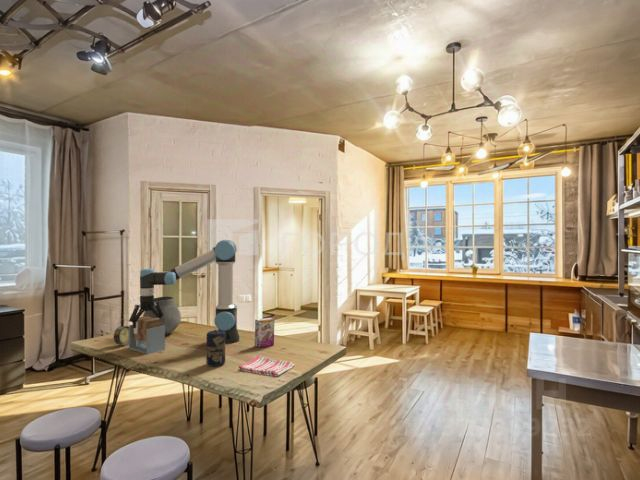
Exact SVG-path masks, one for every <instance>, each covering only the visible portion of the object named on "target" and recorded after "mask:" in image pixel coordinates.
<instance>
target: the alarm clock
mask: <svg viewBox="0 0 640 480" xmlns="http://www.w3.org/2000/svg"><path fill="white" fill-rule="evenodd" d="M122 321H125V319H123V318H122V319H121V320H120V325H121V326H118V327H117V328H116V329H115V330H114V332H113V340H114V343H115V344H117V345H118V348H120V346H121V345H124V346H125V345H129V325H124V324H125V322H123V323H122Z"/></svg>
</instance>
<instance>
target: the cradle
mask: <svg viewBox="0 0 640 480" xmlns="http://www.w3.org/2000/svg"><path fill="white" fill-rule="evenodd" d="M128 327H129V344H128V350H131V351H134V352H139V353H142V354H144V355H150V354H154V353H158V352H161V351H165V350H166V344H165V343H166V334H165V326H159V327H155V328H150V329H146V342H144V341H140V340H136V339H133V324H129V325H128Z"/></svg>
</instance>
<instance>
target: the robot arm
mask: <svg viewBox="0 0 640 480" xmlns="http://www.w3.org/2000/svg"><path fill="white" fill-rule="evenodd" d="M236 253H237V245H236V244H235V242H233V240H229V239H222V240H219V241H218V242H217V243H216V245H215V246H214V247H212V249H211V250H209V251H207V252H205V253H203V254H201V255H198V256H196V257H195V258H192V259H190V260H188V261H186V262H184V263H181V264H180V265H177V266H176V267H174V268H171V269H170V270H166V271H163V272H157V271H156V272H155V269H154V268H142V269H141V270H140V272H139V273H140V274H139V295H140V296H139V304H134V309H133V311H132V313H131V314H130V315H131V316H130V317H129V319H128V321H129V322H131V323H132V325H133V328H134V333H135V334H138V322H137V320H138V319H139V317H142V314H144V312H145V311H150V310H151V311H152V312H153V313H154V315H155V316H156V317H157V318H158V319H160V318H161V317H162V316H163V313H162V311H161V309H160V307H159V302H153V301H154V298H155V295H154V294H155V286H161V285H162V286H172V285H173V286H174V285H175V284H176V281H177V280H180V279H182V278H183V277H186V276H188V275H189V274H192V273H194V272H196V271H198V270H201V269H203V268H205V267H206V266H209V265H212V264H213V263H216V264H217V268H218V269H217V270H218V271H217V274H218V275H217V279H218V282H217V283H218V285H217V286H218V287H217V291H218V292H217V305H216V306H215V317H214V321H213V322H214V324H215V325H214V326H215V327H216V328H217V330H221V331H224V332H225V335H226V336H225V344H233V343H236V342H237V343H238V341H240V335H239V331H238V324H237V323H238V317H237V316H238V306H237V305H236V304H233V303H234V301H233V300H234V299H233V298H234V297H233V293H234V290H233V289H234V287H233V286H234V284H233V282H234V275H233V274H234V271H233V270H234V269H233V268H234V266H233V265H234V264H235V263H236ZM153 306H155V307H156V309H157V311H156V310H155V309H154V308H153ZM157 312H158V313H157Z"/></svg>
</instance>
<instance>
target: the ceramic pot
mask: <svg viewBox="0 0 640 480" xmlns="http://www.w3.org/2000/svg"><path fill="white" fill-rule="evenodd" d="M153 302H159V307H160V309H161V311H162V313H163V316H162V317H161V318H160V319H161V326H165V335H169V334H171V333H174V331H175V330H176V329H177V328H178V327H179V325H180V323H181V319H182V316H181V312H180V309H179V308H178V306H177V305H176V303H175V297H173V296H170V295H169V296H168V295H167V296H160V297H159V296H158V297H154V301H153ZM153 308H154V309H155V310H156V311H157V309H156V307H155V306H153ZM157 313H158V312H157ZM142 314H143V316H142V317H144V316H147V317H153V318H157V317H156V316H155V315H154V313H153V312H152V311H151V310H150V311H144V312H143V313H142Z"/></svg>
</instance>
